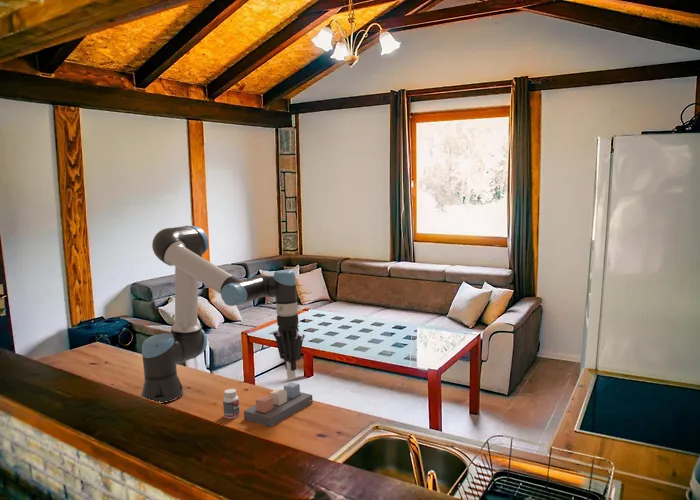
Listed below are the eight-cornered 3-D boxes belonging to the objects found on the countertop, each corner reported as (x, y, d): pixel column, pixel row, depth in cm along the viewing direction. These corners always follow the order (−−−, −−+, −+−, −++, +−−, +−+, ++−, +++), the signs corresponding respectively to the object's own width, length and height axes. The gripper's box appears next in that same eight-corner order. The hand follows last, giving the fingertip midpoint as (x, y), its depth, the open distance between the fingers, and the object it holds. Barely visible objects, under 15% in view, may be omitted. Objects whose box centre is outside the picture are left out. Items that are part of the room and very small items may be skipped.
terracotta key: (256, 411, 176) (255, 399, 175) (264, 406, 179) (264, 395, 179) (265, 413, 173) (264, 401, 173) (273, 408, 177) (272, 397, 176)
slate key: (284, 396, 187) (283, 385, 187) (291, 392, 190) (290, 382, 190) (292, 398, 185) (292, 387, 184) (300, 394, 188) (299, 384, 188)
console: (244, 419, 177) (243, 410, 176) (287, 396, 195) (286, 389, 194) (270, 426, 170) (270, 418, 170) (312, 402, 188) (312, 394, 188)
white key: (270, 403, 181) (270, 392, 181) (278, 399, 185) (277, 388, 184) (279, 405, 179) (278, 394, 179) (287, 401, 182) (286, 390, 182)
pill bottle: (235, 419, 177) (234, 394, 176) (221, 418, 178) (219, 393, 177) (242, 412, 182) (240, 388, 181) (228, 412, 183) (226, 387, 182)
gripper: (266, 314, 185) (270, 379, 188) (294, 318, 178) (298, 385, 180) (280, 310, 191) (284, 372, 194) (308, 313, 184) (312, 378, 186)
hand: (291, 378), depth 187 cm, fingers closed
